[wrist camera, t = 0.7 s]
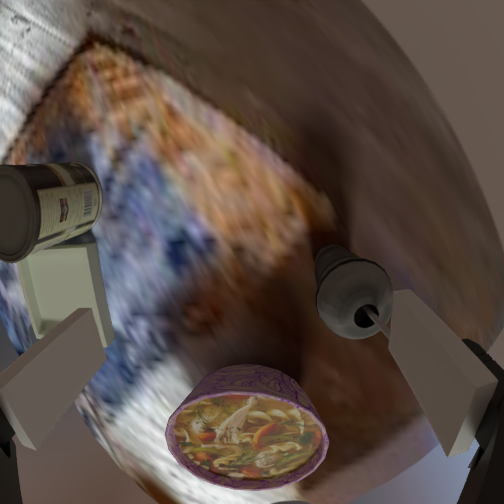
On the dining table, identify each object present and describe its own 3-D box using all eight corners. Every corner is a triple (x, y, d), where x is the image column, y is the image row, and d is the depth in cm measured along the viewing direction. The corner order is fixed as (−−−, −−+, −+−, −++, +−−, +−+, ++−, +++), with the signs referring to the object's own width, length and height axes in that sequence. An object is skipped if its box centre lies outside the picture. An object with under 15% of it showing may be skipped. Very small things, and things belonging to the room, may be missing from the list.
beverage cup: (308, 228, 38) (346, 288, 18) (366, 237, 38) (444, 299, 18) (298, 286, 40) (319, 385, 20) (353, 293, 39) (411, 388, 20)
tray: (25, 247, 41) (14, 251, 38) (96, 242, 40) (86, 247, 37) (45, 331, 44) (36, 338, 42) (115, 338, 43) (107, 347, 41)
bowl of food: (335, 348, 42) (352, 402, 30) (300, 443, 47) (303, 496, 35) (190, 324, 42) (165, 373, 31) (182, 424, 47) (165, 475, 36)
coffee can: (38, 181, 38) (-31, 190, 25) (89, 149, 37) (19, 146, 23) (60, 245, 40) (-5, 275, 27) (113, 220, 39) (48, 245, 25)
